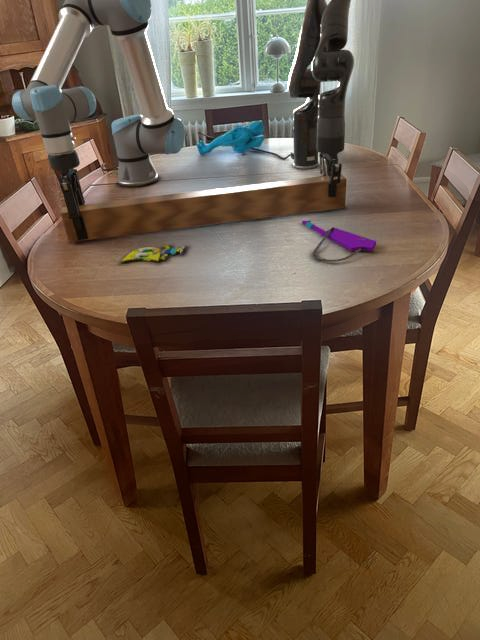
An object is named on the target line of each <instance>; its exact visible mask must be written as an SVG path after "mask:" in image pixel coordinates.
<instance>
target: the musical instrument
mask: <svg viewBox="0 0 480 640" xmlns="http://www.w3.org/2000/svg"><path fill="white" fill-rule="evenodd" d="M301 223H302V225H304V226H305V227H306V228H309V229H311V230H313V231H315V232H317V233H318V234H320V235H322V236H324V237H323V238H322V239H321V240H320V242H318V245H317V246H316V247H315V248H314V249H313V252H312V256H313V258H314V259H315V260H317V261H323V262H332V263H333V262H341V261H345V260H348V259H350V258H352V257H353V256H356V254H358V253H359V252H361V251H364V252H373V251H374V250H375V248H376V246H377V240H375V239H371V238H368V237H365V236H361V235H359V234H356V233H352V232H349V231H346V230H343V229H340V228H337V227H334V226H332V227H331V228H330V229H327V230H324V229H323V228H321V227H319V226H317V225H316V224H314V223H312V221H311V220H306V219H305V220H302V221H301ZM327 239H329V240H331V241H332V242H334V243H336V244H337V245H339V246H341V247H343V248H345V249H347V250H348V251H350V252H352V253H351V254H349V255H347V256H345V257H342V258H338V259H327V258H321V257H318V256H317V252H318V250H319V249H320V248H321V246H322V244H323V243H324V242H325V241H326V240H327Z"/></svg>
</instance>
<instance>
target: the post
mask: <svg viewBox="0 0 480 640" xmlns="http://www.w3.org/2000/svg"><path fill="white" fill-rule="evenodd" d="M333 180H335V177H334V179H333ZM347 181H348V180H347V178H346V176H344V175H343V174H342V173H341V177H340V183H339V184H337V189H336V196H335V197H329V196H328V177H327V176H322V175H321V176H319V175H318V176H312V177H304V178H295V179H287V180H279V181H270V182H263V183H254V184H245V185H238V186H237V185H236V186H229V187H228V186H227V187H220V188H212V189H203V190H196V191H195V190H194V191H185V192H177V193H170V194H169V193H168V194H162V195H161V194H160V195H153V196H145V197H137V198H129V199H121V200H110V201H104V202H95V203H85V204H84V205H79V208H80V213H81V216H82V217H83V220H84V224H85V228H86V231H87V235H88V239H83V240H78V238H77V234H76V230H75V227H74V223H73V220H72V219H69V218H68V217H69V213H68V210H67V206H63V207H62V210H61V212H60V216H61V219H62V220H61V221H62V223H63V226H64V230H65V234H66V237H67V240H68V243H73V242H82V241H90V240H97V239H105V238H114V237H123V236H131V235H137V234H145V233H146V234H147V233H153V232H161V231H169V230H178V229H185V228H193V227H200V226H210V225H217V224H224V223H233V222H241V221H249V220H257V219H258V220H259V219H265V218H273V217H274V218H275V217H281V216H282V217H283V216H289V215H296V214H297V215H298V214H306V213H315V212H321V211H322V212H323V211H328V210H336V209H344V208H346V201H347V199H346V198H347Z"/></svg>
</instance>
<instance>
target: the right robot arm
mask: <svg viewBox="0 0 480 640" xmlns="http://www.w3.org/2000/svg"><path fill="white" fill-rule="evenodd" d="M351 2H352V0H330V1H329V2H328V3H327V1H326V0H307V1H306V6H305V11H304V14H303V18H302V22H301V27H300V32H299V37H298V43H297V48H296V51H295V55H294V59H293V62H292V66H291V68H290V72H289V75H288V81H287V92H288V95H289V97H290V98H291V99H294V100H300V99H306V101H305V103H304V104H302V105H301V106H299V107H297V108H295V109H294V110H293V112H292V124H293V125H292V128H293V151H290V153H289V154H287V156H285V157H282V156H281V155H280V154H278V153H275V152H271V151H268V150H263V149H259V148H257V147H254V148H251V149H250V150H254V151H258V152H262V153H265V154H268V155H269V154H270V155H273V156H276V157H278V158H279V159H281V160H287V159H288V158H290V159H292V160H293V168H295V169H298V170H299V169H300V170H310V169H315V168H318V167H319V174H320V175H321V176H327V177H328V196H329V197H335V196H336V189H337V184H339V183H340V177H341V174H342V169H343V164H342V162H340V159H339V156H338V155H339V154H340V153H342V152H343V151H344V150H345V139H346V138H345V137H346V119H345V117H346V115H345V114H346V98H347V91H348V87H349V83H350V80H351V78H352V74H353V70H354V68H355V58H354V55H353V53H352V51H350V50H349V49H344V48H345V47H346V46H347V43H348V39H349V17H350V8H351ZM310 65H311V68H310V67H309V66H310ZM308 67H309V68H308ZM327 82H329V83H330V82H338V84H337V86H336V87H334V88H332V89H330V90H326V91H323V92H321V85H322V83H327ZM197 135H202V136H204V137H207V138H210V139H212V140H214V139H216V138H217V137H213V136H210V135H208V134H205V133H203V132H201V131H198V132H197ZM334 177H335V180H333V179H334Z"/></svg>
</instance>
